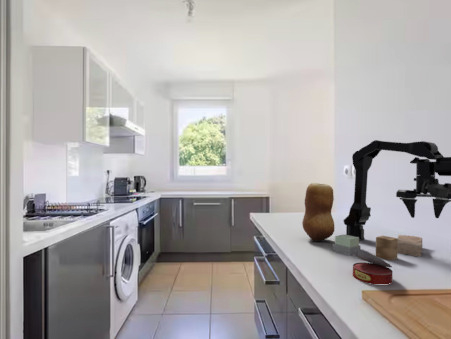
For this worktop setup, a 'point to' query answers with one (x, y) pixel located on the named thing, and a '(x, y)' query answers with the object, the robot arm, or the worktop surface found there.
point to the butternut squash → (318, 212)
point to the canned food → (371, 268)
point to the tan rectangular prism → (386, 247)
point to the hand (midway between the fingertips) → (424, 217)
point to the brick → (409, 245)
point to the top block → (347, 240)
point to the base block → (344, 249)
